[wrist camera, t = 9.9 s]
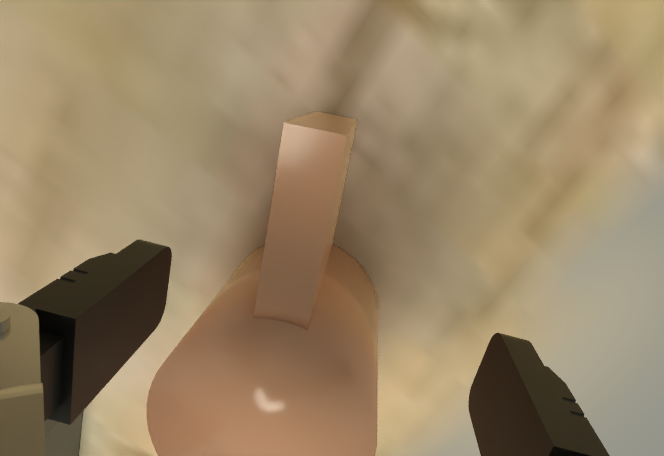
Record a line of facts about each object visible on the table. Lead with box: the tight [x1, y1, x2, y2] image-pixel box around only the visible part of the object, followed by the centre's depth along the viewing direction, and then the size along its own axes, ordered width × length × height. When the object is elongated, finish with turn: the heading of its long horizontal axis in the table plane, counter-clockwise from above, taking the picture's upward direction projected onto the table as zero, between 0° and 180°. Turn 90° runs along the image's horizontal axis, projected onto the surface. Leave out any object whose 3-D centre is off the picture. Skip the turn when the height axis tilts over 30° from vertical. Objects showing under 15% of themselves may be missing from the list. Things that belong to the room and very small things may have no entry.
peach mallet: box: [147, 111, 378, 456], centre depth 17 cm, size 12×7×8 cm, turn 169°
